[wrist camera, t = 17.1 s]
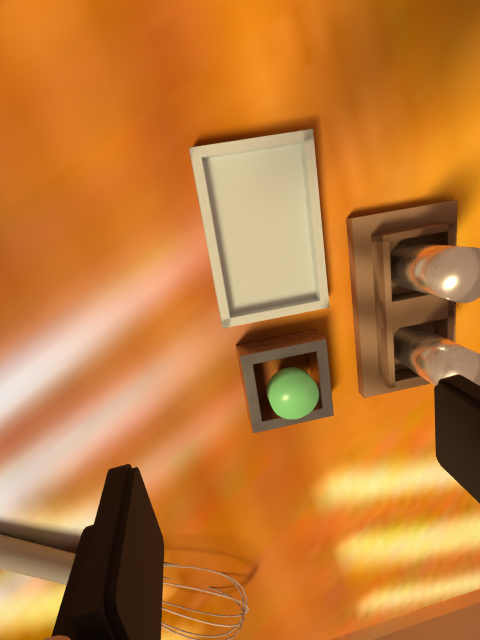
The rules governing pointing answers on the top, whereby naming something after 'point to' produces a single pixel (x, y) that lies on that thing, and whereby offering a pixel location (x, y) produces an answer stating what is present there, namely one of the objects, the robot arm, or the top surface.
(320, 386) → the open wooden box
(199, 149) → the tray
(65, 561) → the kitchen whisk
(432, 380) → the cylinder
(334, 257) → the top surface
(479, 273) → the cylinder
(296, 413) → the button
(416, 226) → the brown compartment tray
